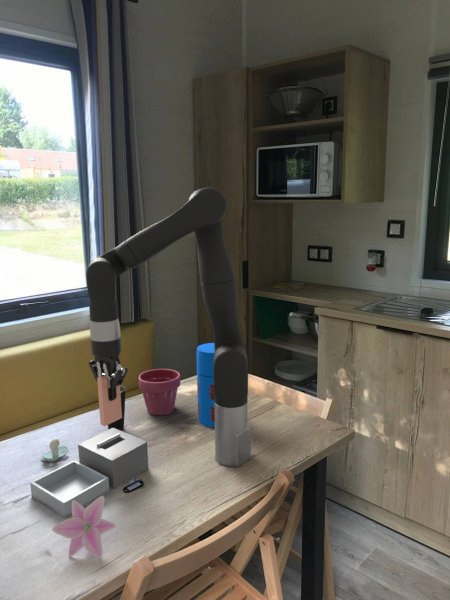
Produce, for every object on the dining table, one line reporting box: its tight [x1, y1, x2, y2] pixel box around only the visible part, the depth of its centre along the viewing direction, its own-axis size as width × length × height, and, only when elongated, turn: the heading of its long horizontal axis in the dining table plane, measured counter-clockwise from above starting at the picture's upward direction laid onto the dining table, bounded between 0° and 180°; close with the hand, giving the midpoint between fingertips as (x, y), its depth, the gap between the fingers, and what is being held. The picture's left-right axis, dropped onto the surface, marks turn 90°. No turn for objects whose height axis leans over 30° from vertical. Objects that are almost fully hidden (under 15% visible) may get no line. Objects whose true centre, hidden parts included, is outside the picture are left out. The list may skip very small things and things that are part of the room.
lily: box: [51, 495, 117, 559], centre depth 106 cm, size 12×12×10 cm
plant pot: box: [138, 368, 181, 416], centre depth 171 cm, size 14×14×13 cm
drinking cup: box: [107, 384, 127, 432], centre depth 156 cm, size 8×8×20 cm
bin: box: [29, 459, 110, 519], centre depth 124 cm, size 14×13×4 cm
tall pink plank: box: [96, 375, 122, 427], centre depth 131 cm, size 2×6×13 cm, turn 143°
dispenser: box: [77, 428, 149, 490], centre depth 135 cm, size 14×12×9 cm
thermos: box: [196, 342, 215, 428], centre depth 162 cm, size 11×11×25 cm
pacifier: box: [40, 438, 68, 462], centre depth 142 cm, size 7×6×6 cm
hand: (109, 398), depth 131 cm, fingers closed on tall pink plank, 1 cm apart
